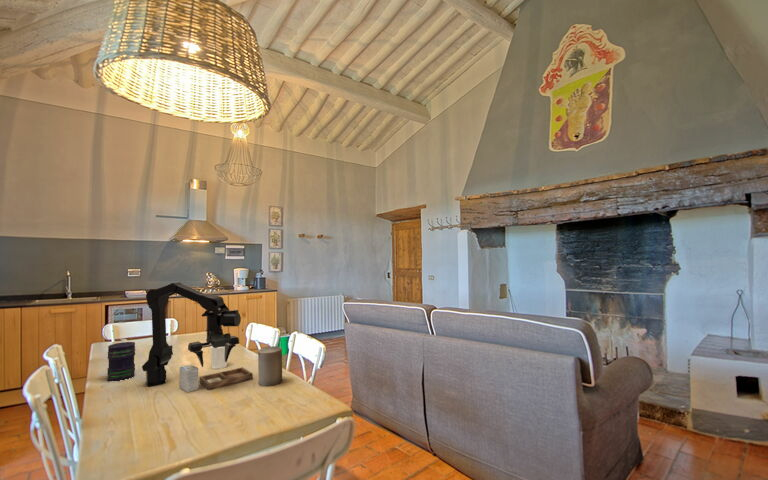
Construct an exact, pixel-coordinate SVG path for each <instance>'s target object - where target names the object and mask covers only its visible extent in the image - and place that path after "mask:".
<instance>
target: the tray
mask: <svg viewBox="0 0 768 480" xmlns="http://www.w3.org/2000/svg"><path fill="white" fill-rule="evenodd" d="M253 379H254V377H253V373H252V372H251V371H249V370H248V369H246V368H245V367H239V368H238V367H237V368H234V369H230V370H229V369H228V370H225V371H219V372H215V373H211V374H205V375H202V376H198V380H199V384H200V385H201V386H203V387H204V389H206V390H207V391H210V390H215V389H217V388H223V387H227V386H231V385H234V384H240V383H241V382H242V383H243V382H247V381H251V380H253Z"/></svg>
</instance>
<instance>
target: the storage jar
mask: <svg viewBox="0 0 768 480" xmlns="http://www.w3.org/2000/svg"><path fill="white" fill-rule="evenodd" d="M135 345H136V342H134V341H125V342H123V341H121V342H117V343H113V344H110V345H107V347H108V350H107V360H108V367H107V382H110V381H117V382H121V381H120V380H123V381H126V380H125V379H127V380H130V379H132V377H133V378H135V371H136V364H135V355H136V346H135ZM129 378H130V379H129Z"/></svg>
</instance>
